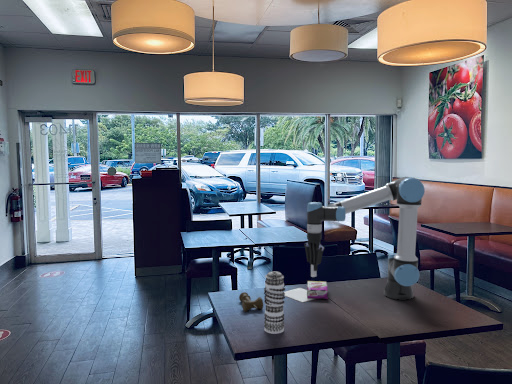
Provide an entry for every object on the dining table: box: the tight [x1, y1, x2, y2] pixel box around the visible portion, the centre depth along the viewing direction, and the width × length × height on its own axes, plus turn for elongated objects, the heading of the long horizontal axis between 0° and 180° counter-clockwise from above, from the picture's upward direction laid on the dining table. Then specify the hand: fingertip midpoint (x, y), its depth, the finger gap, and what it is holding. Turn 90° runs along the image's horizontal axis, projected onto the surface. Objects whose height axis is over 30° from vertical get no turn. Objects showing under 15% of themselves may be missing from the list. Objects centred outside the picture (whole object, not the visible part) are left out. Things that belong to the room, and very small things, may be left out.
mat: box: [283, 287, 314, 303], centre depth 224 cm, size 18×16×1 cm
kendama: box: [238, 291, 264, 313], centre depth 204 cm, size 6×10×20 cm
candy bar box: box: [306, 280, 329, 300], centre depth 224 cm, size 11×5×16 cm
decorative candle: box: [263, 271, 286, 335], centre depth 177 cm, size 9×9×25 cm
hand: (313, 276), depth 216 cm, fingers closed
